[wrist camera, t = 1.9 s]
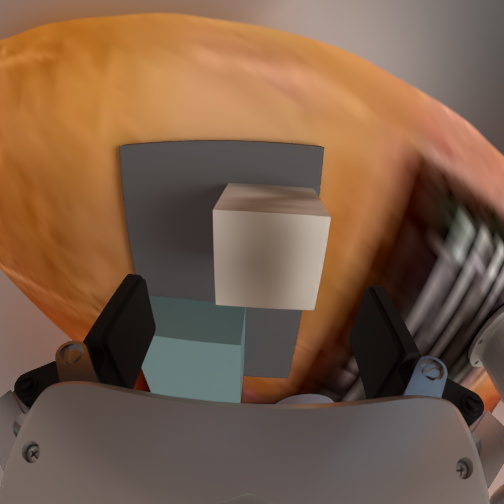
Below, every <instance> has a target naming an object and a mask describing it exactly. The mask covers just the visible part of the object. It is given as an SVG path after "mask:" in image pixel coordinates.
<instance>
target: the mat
mask: <svg viewBox="0 0 504 504" xmlns="http://www.w3.org/2000/svg"><path fill="white" fill-rule="evenodd" d="M323 154H324V147H322V146H314V145H304V144H293V143H280V142H263V141H235V140H195V141H167V142H151V143H138V144H127V145H122V146H120V163H121V176H122V187H123V197H124V205H125V214H126V221H127V228H128V235H129V241H130V247H131V253H132V259H133V264H134V270H135V275H141V276H142V279H145V280H146V284H147V289H148V294H149V296H158V297H167V298H177V299H187V300H198V301H209V302H216V299H215V275H214V245H213V209H214V207H215V205H216V204H217V202H218V200H219V198H220V197H221V195H222V193H223V192H224V190H225V188H226V187H227V185H228V183H239V184H261V185H278V186H292V187H305V188H313V189H314V190H315V192H316V193H317V195H318V197H319V193H320V184H321V175H322V165H323ZM301 313H302V310H294V309H271V308H254V307H246V312H245V346H244V372H243V376H251V377H270V378H288V376H289V372H290V368H291V363H292V358H293V354H294V349H295V344H296V339H297V334H298V329H299V324H300V319H301Z"/></svg>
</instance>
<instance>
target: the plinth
mask: <svg viewBox="0 0 504 504" xmlns="http://www.w3.org/2000/svg"><path fill="white" fill-rule="evenodd" d="M149 299H150V303H151V308H152V312H153V316H154V321H155V325H156V331H155V334H154V337H153V339H152V342H151V344H150V347H149V349H148V352H147V354H146V357H145V359H144V362H143V364H142V367H141V368H142V370H143V373H144V375H145V378H146V380H147V383H148V385H149V388H150V390H151V392H152V393H156V394H162V395H168V396H175V397H182V398H189V399H198V400H207V401H218V402H231V403H240V402H241V392H242V382H243V372H244V346H245V312H246V307H238V306H225V305H216V302H209V301H198V300H187V299H177V298H167V297H158V296H149Z"/></svg>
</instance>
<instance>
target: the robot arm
mask: <svg viewBox="0 0 504 504" xmlns="http://www.w3.org/2000/svg"><path fill="white" fill-rule="evenodd" d="M155 331H156V325H155V321H154V316H153V312H152V308H151V303H150V299H149V294H148V289H147V284H146V280H145V279H142V276H141V275H134V274H128V275H127V276H126V277H125V279H124V280H123V282H122V283H121V284H120V286H119V287H118V289H117V290H116V292H115V293H114V295H113V296H112V298H111V299H110V300H109V302H108V303H107V305H106V306H105V308H104V309H103V311H102V312H101V314H100V316H99V317H98V319H97V320H96V322H95V323H94V325H93V326H92V328H91V330H90V331H89V333H88V334H87V336H86V338H85V339H84V341H83V342H80V341H75V340H73V341H69V342H66V343H64V344H63V345H61V346H60V347H59V349H58V350H57V352H56V355H55V360H56V361H54V362H51V363H49V364H46V365H44V366H41V367H39V368H37V369H34V370H32V371H29V372H27V373H25V374H23V375H21V376H20V377H19V378H18V379H17V381H16V383H15V386H14V389H15V390H14V391H13V392H12V391H11V390H10V391H8V392H7V393H6V394H4V395H3V396H2V397H1V398H0V465H1V467H2V469H3V470H4V474H3V478H2V482H1V486H0V504H504V484H503V485H502V486H500V487H499V488H498V489H497V490H496V491H495V492H494V493H493V495H492V496H491V498H490V500H489V494H488V488H489V487H490V485H491V484H492V482H493V481H494V479H495V477H496V476H497V474H498V472H499V471H500V469H501V467H502V465H503V464H504V426H503V425H502V424H501V423H500V422H499V421H498V420H497V419H496V418H495V417H494V416H493V415H492V414H491V413H490V412H489V411H488V410H487V411H486V412H484V404H483V401H482V399H481V398H480V397H479V395H477V394H476V393H474V392H472V391H471V390H469V389H467V388H465V387H463V386H461V385H459V384H457V383H455V382H454V381H452V380H450V379H448V378H447V369H446V366H445V365H444V363H443V362H442V361H441V360H439V359H437V358H436V357H433V356H424V357H421V355H420V353H419V350H418V348H417V346H416V344H415V342H414V340H413V338H412V336H411V334H410V332H409V331H408V329H407V327H406V325H405V323H404V321H403V320H402V318H401V316H400V314H399V312H398V311H397V309H396V307H395V305H394V303H393V302H392V300H391V298H390V297H389V295H388V293H387V291H386V290H385V288H384V287H383V286H369V288H368V289H366V290H365V291H364V294H363V298H362V301H361V304H360V307H359V310H358V313H357V316H356V319H355V322H354V325H353V328H352V331H351V334H350V343H351V346H352V349H353V352H354V355H355V359H356V362H357V365H358V369H359V372H360V376H361V379H362V382H363V386H364V390H365V393H366V397H367V400H357V401H346V402H334V403H317V404H248V403H231V402H218V401H207V400H198V399H189V398H182V397H175V396H168V395H162V394H156V393H150V392H144V391H139V390H134V389H133V388H134V386H135V383H136V380H137V378H138V375H139V372H140V370H141V367H142V364H143V362H144V359H145V357H146V354H147V352H148V349H149V347H150V344H151V342H152V339H153V337H154V334H155ZM468 359H469V361H470V363H471V365H472V366H474V367H481V366H484V368H485V369H486V371H487V373H488V375H489V377H490V379H491V380H492V382H493V384H494V386H495V388H496V390H497V392H498V394H499V396H500V398H501V400H502V402H503V404H504V306H502V307H501V308H500V309H499V310H498V311H496V312H495V313H494V314H493V315H492V316H491V317H490V318H489V319H488V321H487V322H486V323H485V324H484V325H483V327H482V328H481V329H480V331H479V332H478V333H477V335H476V337H475V338H474V340H473V342H472V344H471V346H470V349H469V353H468Z"/></svg>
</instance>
